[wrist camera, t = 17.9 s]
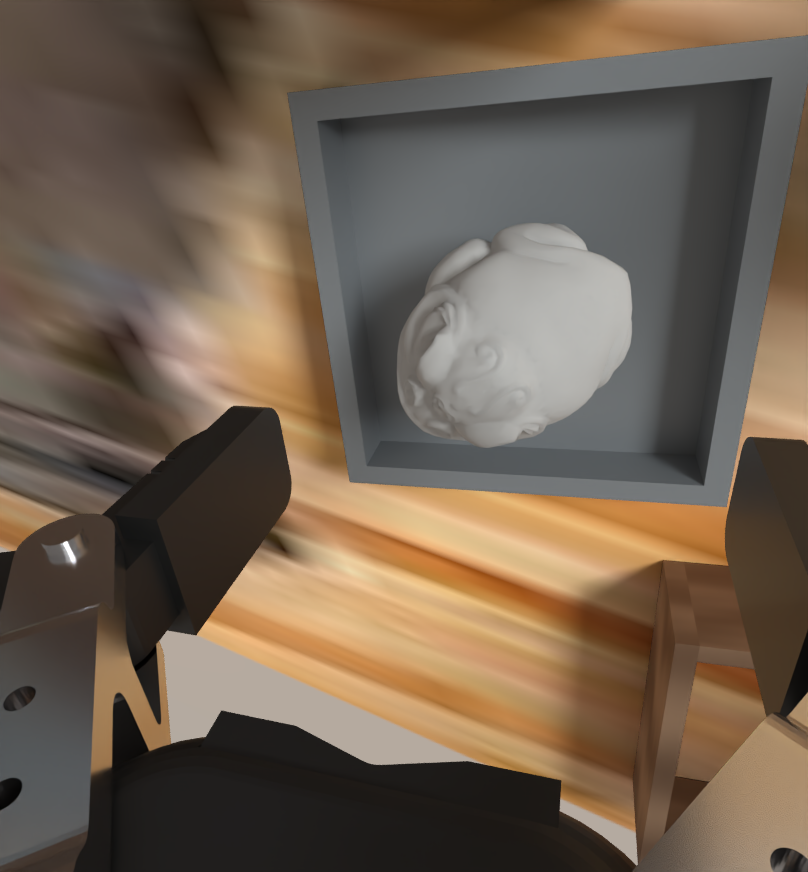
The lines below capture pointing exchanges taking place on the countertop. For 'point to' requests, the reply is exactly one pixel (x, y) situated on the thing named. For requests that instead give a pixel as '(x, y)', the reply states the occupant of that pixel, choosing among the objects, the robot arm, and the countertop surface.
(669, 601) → the walnut frame
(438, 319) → the frog figurine
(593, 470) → the charcoal tray
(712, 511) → the countertop surface
